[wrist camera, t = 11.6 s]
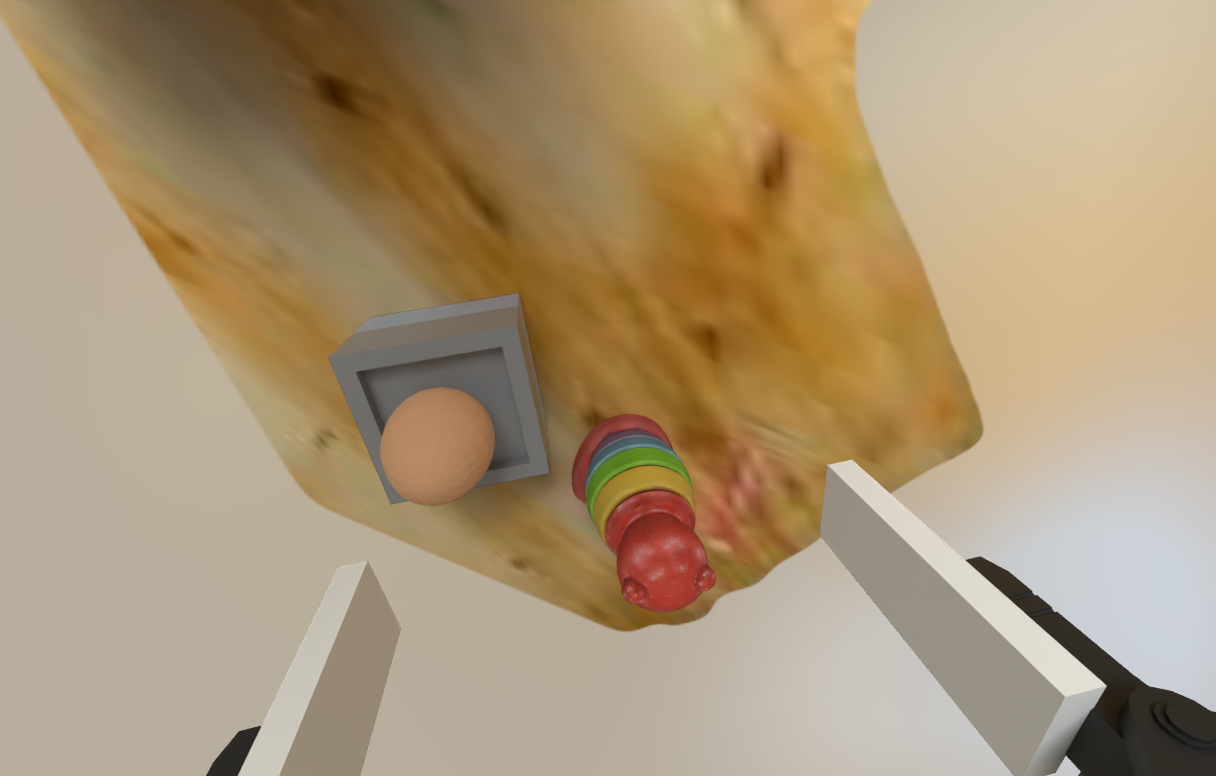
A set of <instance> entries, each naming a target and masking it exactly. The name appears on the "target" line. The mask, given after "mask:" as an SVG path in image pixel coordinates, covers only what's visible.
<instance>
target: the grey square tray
mask: <svg viewBox="0 0 1216 776" xmlns="http://www.w3.org/2000/svg"><path fill="white" fill-rule="evenodd" d="M328 358H329V361H330V363H331V365H332V368H333V370H334V372H335V375H336V377H337V379H338V382H339V384H340V386H341V389H342V391H343V393H344V396H345V398H346V400H347V403H348V405H349V407H350V410H351V412H352V414H353V417H354V419H355V421H356V424H357V426H358V428H359V431H360V433H361V435H362V438H363V440H364V442H365V445H366V447H367V449H368V452H369V454H370V456H371V459H372V461H373V463H374V466H375V468H376V470H377V473H378V475H379V477H380V480H381V482H382V484H383V487H384V489H385V491H386V494H387V496H388V498H389V501H390V503H391V504H396V503H401V502H406V501H409V500H407V499H405V498H403V497H402V496H401V495H400V494H399V493H398V492H397V491H396V490H395V489H394V488H393V486H392V485H391V484H390V482H389V481H388V480H387V477H386V474H385V471H384V469H383V466H382V462H381V457H380V445H381V438H382V435H383V431H384V428H385V426H386V424H387V421H388V419H389V418H390V416H391V415H392V413H393V412H394V411H395V409H396V408H397V407H398V406H399V405H400V404H401V403H402V402H403V401H404V400H406V399H407V398H409V397H410V396H412V395H414V394H416V393H418V392H419V391H423V390H426V389H430V388H438V387H446V388H454V389H458V390H461V391H464V392H466V393H467V394H469V395H471V396H472V397H474V398H475V399H476V400H477V401H479V402H480V403H481V404H482V405H483V406H484V408H485V409H486V411H487V412H488V414H489V416H490V418H491V420H492V423H493V428H494V433H495V447H494V452H493V457H492V459H491V462H490V464H489V467H488V469H487V471H486V472H485V474H484V476H483V477H482V479H481V480H480V481H479V482H478V483H477V484H476V485H475V486H474V487H473V488H477V487H482V486H487V485H492V484H497V483H502V482H507V481H512V480H517V479H522V478H527V477H532V476H537V475H542V474H547V473H550V471H549V458H548V444H547V431H546V417H545V413H544V408H543V403H542V399H541V394H540V389H539V385H538V380H537V375H536V371H535V366H534V361H533V357H532V352H531V347H530V343H529V338H528V333H527V329H526V324H525V319H524V314H523V310H522V305H521V300H520V296H519V293H518V294H512V295H505V296H499V297H493V298H487V299H481V300H475V301H469V302H462V303H456V304H450V305H444V306H438V307H432V308H425V309H419V310H413V311H407V312H401V313H395V314H389V315H382V316H376V317H371V318H370V319H369V320H368V321H367V322H366V323H365V324H364V325H362V326H361V327H360V328H359V329H358V330H357V331H356V332H355V333H354V334H353V335H352V336H351V337H350V338H348V339H347V340H346V341H345V342H344V343H343V344H342V345H341V346H340V347H339V348H338V349H337V350H336V351H335V352H333V353H332V354H331V355H330V356H329V357H328Z"/></svg>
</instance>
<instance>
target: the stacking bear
mask: <svg viewBox="0 0 1216 776" xmlns="http://www.w3.org/2000/svg"><path fill="white" fill-rule="evenodd" d="M572 485H573V491H574V494H575V495H576V497H577V498H579V499H580V500H582V501H583V502H584V503H587V506H588V510H589V513H590V516H591V518H592V520H593V523H594V524H595V526H596V528H597V530H598V532H599V534H600V536H601V538H602V539H603V541H604V542H605V544H606V545H607V546H608V547H609V548H610V549H611V551H612V552H613V553H614V554H615V555H616V556H617V571H618V576H619V580H620V583H621V586H622V595H623V597H624V598H625V599H626V600H628V601H629V602H631V603H635V604H636V605H638V606H640V607H642V608H644V609H647V610H650V611H654V612H669V611H674V610H678V609H681V608H683V607H686V606H687V605H689V604H691V603H692V602H693V601H695V600H696V599H697V598H698V597H699V595H700V594H701V593H702V591H707V590H709V589H711V588H712V587H713V586H714V585H715V582H716V577H715V573H714V572H713V570H712V569H711V568H710V567H709V566H708V559H707V554H706V551H705V549H704V546H703V544H702V542H701V540H700V539H699V537H698V536H697V535H696V534H695V532H694V528H695V502H694V497H693V488H692V484H691V480H690V477H689V474H688V472H687V470H686V468H685V466H684V464H683V463H682V461H681V460H680V458H679V457H678V456H677V454H676V453H675V452H674V451H673V448H672V445H671V443H670V441H669V439H668V437H667V435H666V434H665V432H664V431H663V430H662V428H661V427H660V426H659V425H658V424H657V423H656V422H654V421H653V420H651V419H649V418H647V417H644V416H640V415H634V414H625V415H619V416H615V417H612V418H609V419H607V420H605V421H603V422H602V423H600V424H599V425H597V426H596V427H595V428H594V429H593V430H592V431H591V432H590V433H589V435H588V436H587V437H586V438H585V440H584V441H583V443H582V445H581V447H580V448H579V451H578V453H577V455H576V458H575V461H574V465H573V471H572Z"/></svg>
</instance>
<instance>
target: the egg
mask: <svg viewBox="0 0 1216 776" xmlns="http://www.w3.org/2000/svg"><path fill="white" fill-rule="evenodd" d="M494 447H495V433H494V428H493V423H492V420H491V418H490V416H489V414H488V412H487V411H486V409H485V408H484V406H483V405H482V404H481V403H480V402H479V401H477V400H476V399H475V398H474V397H472V396H471V395H469V394H467V393H466V392H464V391H461V390H458V389H454V388H446V387H438V388H430V389H426V390H423V391H419V392H418V393H416V394H414V395H412V396H410V397H409V398H407V399H406V400H404V401H403V402H402V403H401V404H400V405H399V406H398V407H397V408H396V409H395V411H394V412H393V413H392V415H391V416H390V418H389V419H388V421H387V424H386V426H385V428H384V431H383V435H382V438H381V445H380V457H381V462H382V466H383V469H384V471H385V474H386V477H387V480H388V481H389V482H390V484H391V485H392V486H393V488H394V489H395V490H396V491H397V492H398V493H399V494H400V495H401V496H402V497H403V498H405V499H407V500H409V501H411V502H413V503H417V504H422V505H429V506H435V505H441V504H445V503H448V502H451V501H453V500H456V499H457V498H459V497H461V496H463V495H465V494H466V493H467V492H468V491H469V490H470V489H472V488H473V487H474V486H475V485H476V484H477V483H478V482H479V481H480V480H481V479H482V477H483V476H484V474H485V472H486V471H487V469H488V467H489V464H490V462H491V459H492V457H493V452H494Z"/></svg>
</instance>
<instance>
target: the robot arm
mask: <svg viewBox="0 0 1216 776" xmlns="http://www.w3.org/2000/svg"><path fill="white" fill-rule="evenodd" d="M820 536H821V537H822V538H823V539H824V541H825V542H826V543H827V545H828V546H829V547H830V548H831V550H832V551H833V552H834V553H835V554H836V556H837V557H838V558H839V560H840V561H841V562H842V563H843V564H844V566H845V567H846V568H847V569H848V571H849V572H850V573H851V574H852V576H853V577H854V578H855V579H856V580H857V582H858V583H859V584H860V586H861V587H862V588H863V589H864V591H865V592H866V593H867V594H868V596H869V597H870V598H871V599H872V600H873V602H874V603H875V604H876V605H877V607H878V608H879V609H880V610H881V612H882V613H883V614H884V615H885V617H886V618H887V619H888V620H889V622H890V623H891V624H892V625H893V627H894V628H895V629H896V630H897V631H898V633H899V634H900V635H901V636H902V638H903V639H904V640H905V641H906V643H907V644H908V645H909V646H910V648H911V649H912V650H913V651H914V653H915V654H916V655H917V656H918V657H919V659H920V660H921V661H922V663H923V664H924V665H925V666H926V667H927V669H928V670H929V671H930V672H931V674H932V675H933V676H934V677H935V679H936V680H937V681H938V682H939V684H940V685H941V686H942V687H943V689H944V690H945V691H946V692H947V694H948V695H949V696H950V697H951V699H952V700H953V701H954V702H955V703H956V705H957V706H958V707H959V708H960V710H961V711H962V712H963V713H964V715H965V716H966V717H967V718H968V720H969V721H970V722H971V723H972V725H973V726H974V727H975V728H976V730H977V731H978V732H979V733H980V735H981V736H982V737H983V738H984V740H985V741H986V742H987V743H988V744H989V746H990V747H991V748H992V749H993V751H994V752H995V753H996V754H997V756H998V757H999V758H1000V759H1001V761H1002V762H1003V763H1004V764H1005V766H1006V767H1007V768H1008V769H1009V771H1010V772H1011V773H1012V774H1013V775H1014V776H1046V775H1049V774H1053V773H1056V771H1057V769H1058V768H1059V766H1060V764H1061V763H1062V761H1063V759H1064V757H1065V756H1067V757H1068V758H1069V759H1070V760H1071V761H1072V762H1073V763H1074V764H1075V766H1076V767H1077V768H1078V769H1079V770H1080V771H1081V772H1080V774H1079V775H1078V776H1216V712H1212V711H1210V710H1208V709H1207V708H1205V707H1203V706H1202V705H1200V704H1198V703H1197V702H1195V701H1194V700H1191V699H1189V698H1187V697H1184V696H1182V695H1180V694H1177V693H1175V692H1173V691H1169V690H1164V689H1159V688H1155V687H1150V686H1148V685H1146V684H1145V683H1144V682H1142V681H1141V680H1140V679H1138V678H1137V677H1135V676H1134V675H1133V674H1132V673H1130V672H1129V671H1128V670H1127V669H1126V668H1124V667H1123V666H1122V665H1121V664H1119V663H1118V662H1117V661H1116V660H1115V659H1113V658H1112V657H1111V656H1110V655H1109V654H1107V653H1106V652H1105V651H1104V650H1103V649H1101V648H1100V647H1099V646H1098V645H1097V644H1095V643H1094V642H1093V641H1092V640H1091V639H1089V638H1088V637H1087V636H1086V635H1085V634H1083V633H1082V632H1081V631H1080V630H1079V629H1077V628H1076V627H1075V626H1074V625H1073V624H1071V623H1070V622H1069V621H1068V620H1066V619H1065V618H1064V617H1063V616H1062V615H1060V614H1059V613H1058V612H1054V611H1053V610H1052V607H1051V606H1050V605H1048V604H1047V603H1046V602H1044V600H1042V599H1041V598H1040V597H1039V596H1038V595H1036V596H1035V595H1034V594H1033V593H1032V591H1031V590H1030V589H1029V588H1028V587H1027V586H1026V585H1024V584H1023V583H1022V582H1021V581H1019V580H1018V579H1017V578H1016V577H1015V576H1013V575H1012V574H1011V573H1010V572H1008V571H1007V570H1005V569H1003V568H1001V567H999V566H997V565H995V564H994V563H992V562H990V561H988V560H986V559H984V558H982V557H976V558H972V559H968V560H964V559H963V558H962V557H961V556H960V555H959V554H957V553H956V552H955V551H954V550H953V549H952V548H951V547H950V546H949V545H947V544H946V543H945V542H944V541H943V540H942V539H940V538H939V537H938V536H937V535H936V534H935V533H934V532H932V530H930V529H929V528H928V527H927V526H926V525H925V524H924V523H922V522H921V521H920V520H919V519H918V518H917V517H916V516H915V515H913V514H912V513H911V512H910V511H909V510H908V509H907V508H906V507H904V506H903V505H902V504H901V503H900V502H899V501H898V500H897V499H895V498H894V497H893V496H892V495H891V494H890V493H889V492H888V491H886V490H885V489H884V488H883V487H882V486H881V485H880V484H879V483H877V482H876V481H875V480H874V479H873V478H872V477H871V476H870V475H868V474H867V473H866V472H865V471H864V470H863V469H862V468H861V467H859V466H858V465H857V464H856V463H855V462H854V461H853V460H849V461H844V462H839V463H834V464H830V465H827V474H826V484H825V493H824V502H823V512H822V521H821V531H820ZM400 630H401V627H400V625H399V623H398V621H397V619H396V617H395V615H394V613H393V611H392V609H391V607H390V605H389V603H388V601H387V599H386V597H385V595H384V593H383V591H382V589H381V586H380V585H379V582H378V580H377V578H376V576H375V574H374V572H373V570H372V568H371V566H370V564H369V562H368V561H363V562H358V563H353V564H348V565H343V566H339V567H338V568H337V570H336V572H335V574H334V577H333V579H332V581H331V583H330V585H329V587H328V589H327V591H326V593H325V595H324V597H323V599H322V602H321V604H320V606H319V608H318V610H317V612H316V614H315V616H314V618H313V620H312V622H311V624H310V626H309V629H308V631H307V633H306V635H305V637H304V639H303V641H302V643H301V645H300V647H299V649H298V651H297V654H296V656H295V658H294V660H293V662H292V664H291V666H290V668H289V670H288V673H287V674H286V676H285V679H284V681H283V683H282V685H281V687H280V689H279V691H278V693H277V695H276V697H275V699H274V701H273V704H272V706H271V708H270V710H269V712H268V714H267V716H266V718H265V720H264V722H263V724H262V726H258V727H254V728H250V729H246V730H242V731H239V732H238V733H237V734H236V736H235V737H234V738H233V739H232V740H231V742H230V743H229V744H228V745H227V747H226V748H225V749H224V750H223V751H222V752H221V754H220V755H219V756H218V757H217V759H216V760H215V761H214V762H213V764H212V766H211V768H210V770H209V771H208V773H207V775H206V776H360V774H361V770H362V767H363V764H364V760H365V756H366V752H367V749H368V745H369V742H370V738H371V734H372V731H373V727H374V724H375V720H376V717H377V713H378V709H379V706H380V702H381V699H382V695H383V691H384V688H385V684H386V681H387V677H388V673H389V670H390V666H391V662H392V659H393V655H394V652H395V647H396V644H397V641H398V637H399V634H400Z"/></svg>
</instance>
